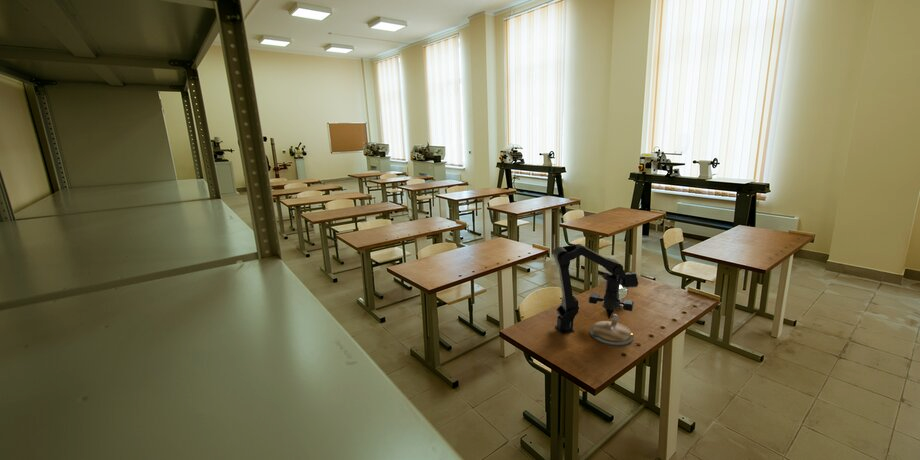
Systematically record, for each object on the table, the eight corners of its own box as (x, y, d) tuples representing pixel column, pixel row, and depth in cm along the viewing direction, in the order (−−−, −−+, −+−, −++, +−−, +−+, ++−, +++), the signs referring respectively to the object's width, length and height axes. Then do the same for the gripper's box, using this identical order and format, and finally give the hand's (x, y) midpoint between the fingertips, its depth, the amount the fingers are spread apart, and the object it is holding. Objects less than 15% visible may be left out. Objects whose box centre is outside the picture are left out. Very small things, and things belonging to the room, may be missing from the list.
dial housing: (606, 349, 162) (606, 346, 162) (582, 328, 179) (582, 325, 179) (642, 341, 167) (642, 338, 167) (615, 322, 184) (615, 319, 183)
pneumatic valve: (606, 307, 198) (607, 285, 195) (618, 300, 205) (620, 279, 202) (616, 311, 194) (618, 289, 191) (628, 304, 201) (630, 282, 198)
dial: (627, 345, 162) (629, 334, 161) (588, 336, 170) (589, 325, 169) (633, 328, 175) (634, 317, 174) (596, 320, 183) (597, 310, 182)
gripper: (587, 290, 172) (584, 321, 176) (633, 299, 163) (629, 331, 168) (592, 281, 181) (589, 311, 186) (635, 288, 173) (631, 320, 177)
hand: (609, 318), depth 179 cm, fingers closed
